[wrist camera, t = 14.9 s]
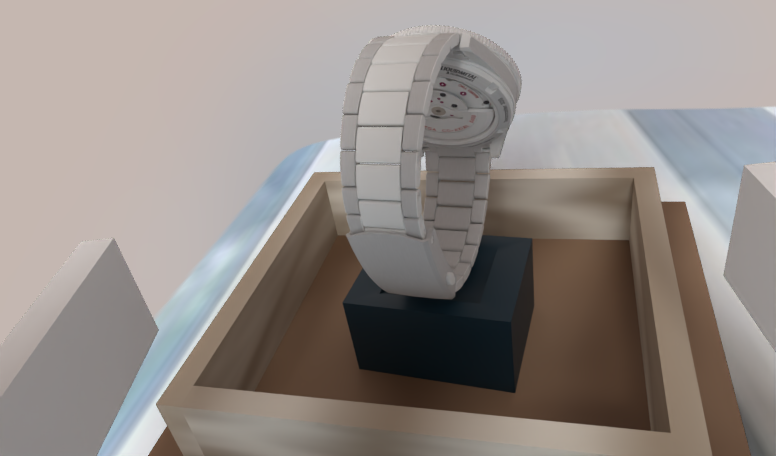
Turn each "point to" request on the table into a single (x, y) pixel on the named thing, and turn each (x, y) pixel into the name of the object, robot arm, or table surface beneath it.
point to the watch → (432, 210)
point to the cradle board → (466, 403)
